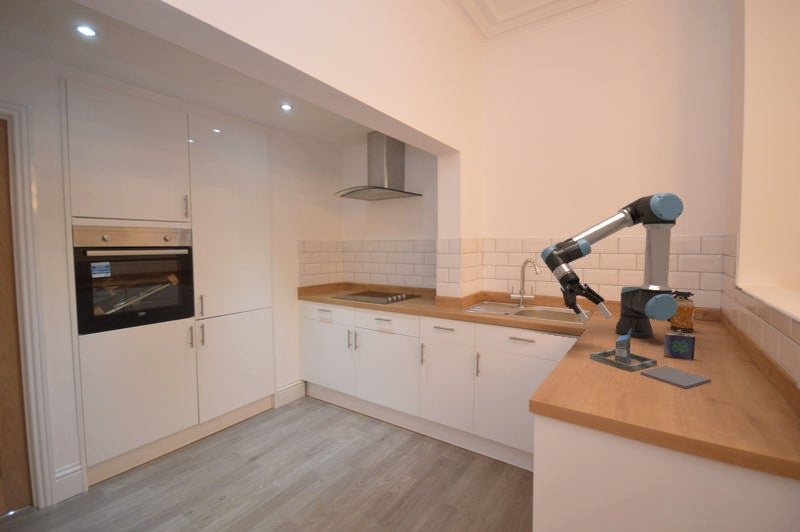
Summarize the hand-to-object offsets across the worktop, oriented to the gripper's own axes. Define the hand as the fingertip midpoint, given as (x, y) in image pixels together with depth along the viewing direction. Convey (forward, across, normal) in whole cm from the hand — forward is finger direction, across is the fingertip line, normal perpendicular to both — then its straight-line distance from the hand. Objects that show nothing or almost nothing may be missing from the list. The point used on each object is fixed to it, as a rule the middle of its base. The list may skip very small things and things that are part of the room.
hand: (597, 319), depth 137 cm
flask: (+21, -25, +1) cm, 33 cm away
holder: (+17, -1, -3) cm, 17 cm away
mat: (+29, -1, +9) cm, 30 cm away
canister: (+4, -73, -16) cm, 74 cm away
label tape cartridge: (+17, -1, -3) cm, 17 cm away
